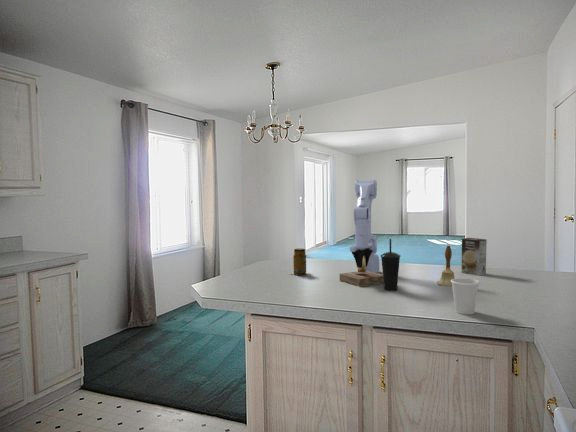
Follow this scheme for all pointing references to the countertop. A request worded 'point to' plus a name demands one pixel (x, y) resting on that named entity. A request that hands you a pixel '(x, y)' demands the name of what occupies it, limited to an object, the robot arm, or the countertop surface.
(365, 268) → the pin
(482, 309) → the countertop surface
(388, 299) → the countertop surface
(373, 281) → the socket block
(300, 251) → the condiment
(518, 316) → the countertop surface
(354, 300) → the countertop surface
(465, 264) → the coffee box
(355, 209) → the robot arm
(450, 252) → the hand bell
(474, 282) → the dixie cup
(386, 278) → the drinking cup
